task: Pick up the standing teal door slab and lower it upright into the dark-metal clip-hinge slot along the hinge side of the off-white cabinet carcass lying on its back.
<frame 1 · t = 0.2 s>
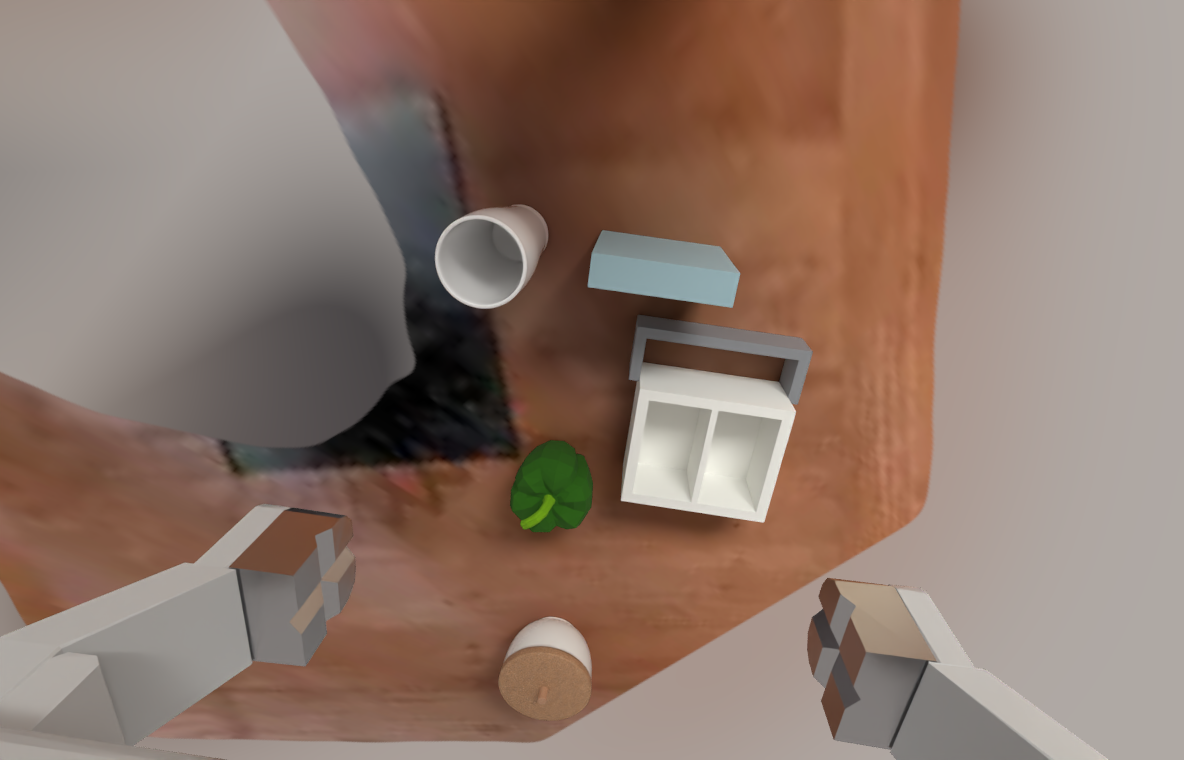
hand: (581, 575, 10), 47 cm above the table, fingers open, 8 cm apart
bell pepper: (558, 461, 64), on the table
cabinet: (697, 424, 61), on the table
door: (658, 252, 54), on the table
drinking glass: (521, 232, 55), on the table
lidded jar: (554, 633, 73), on the table
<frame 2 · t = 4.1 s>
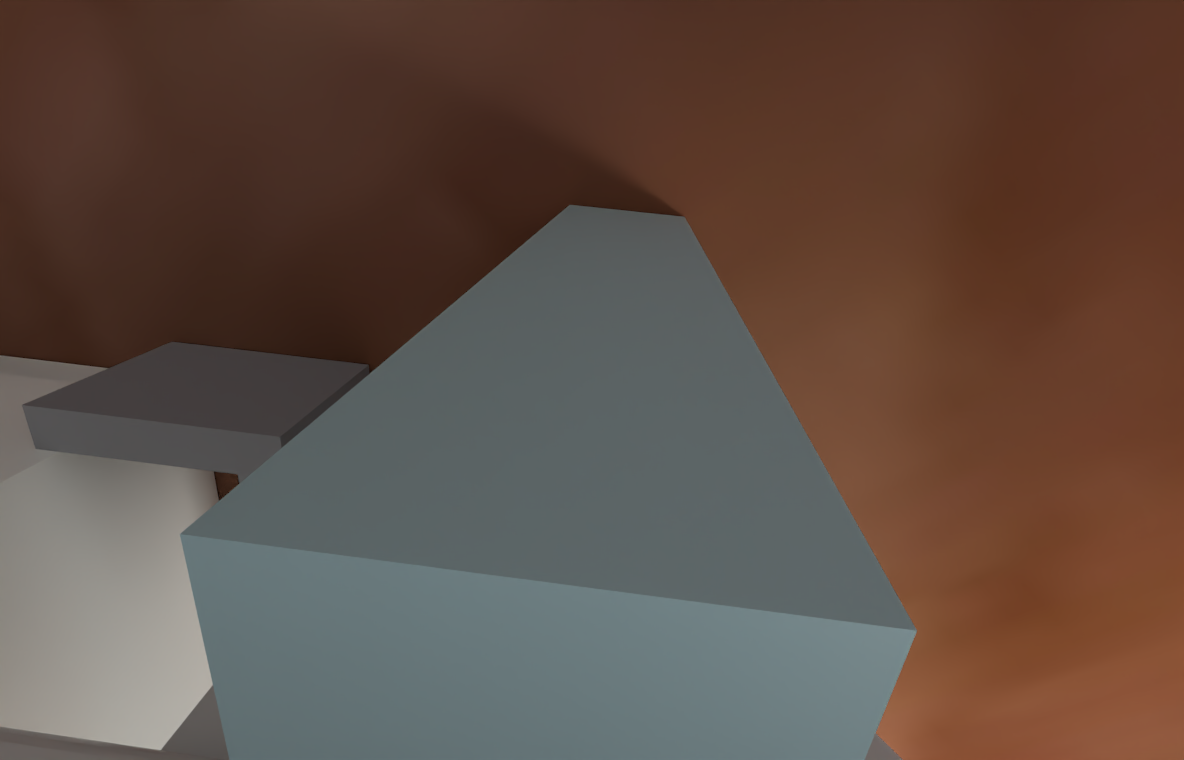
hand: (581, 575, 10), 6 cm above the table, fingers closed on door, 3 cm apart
cabinet: (52, 558, 19), on the table
door: (602, 427, 15), on the table, touching gripper
when the fingers open (8 cm above the table, at t = 9.2 s): door drops 2 cm, resting in cabinet.
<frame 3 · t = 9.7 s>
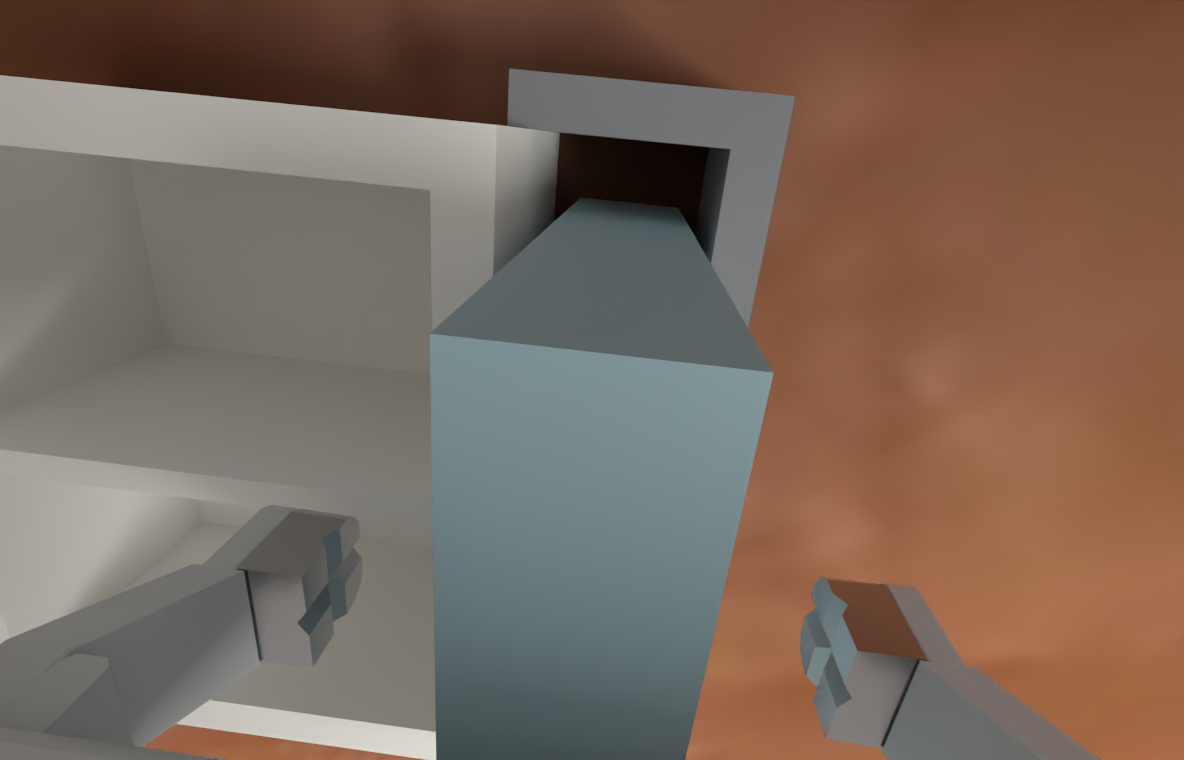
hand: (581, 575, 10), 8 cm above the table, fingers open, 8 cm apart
cabinet: (349, 360, 18), on the table
door: (608, 391, 18), resting in cabinet
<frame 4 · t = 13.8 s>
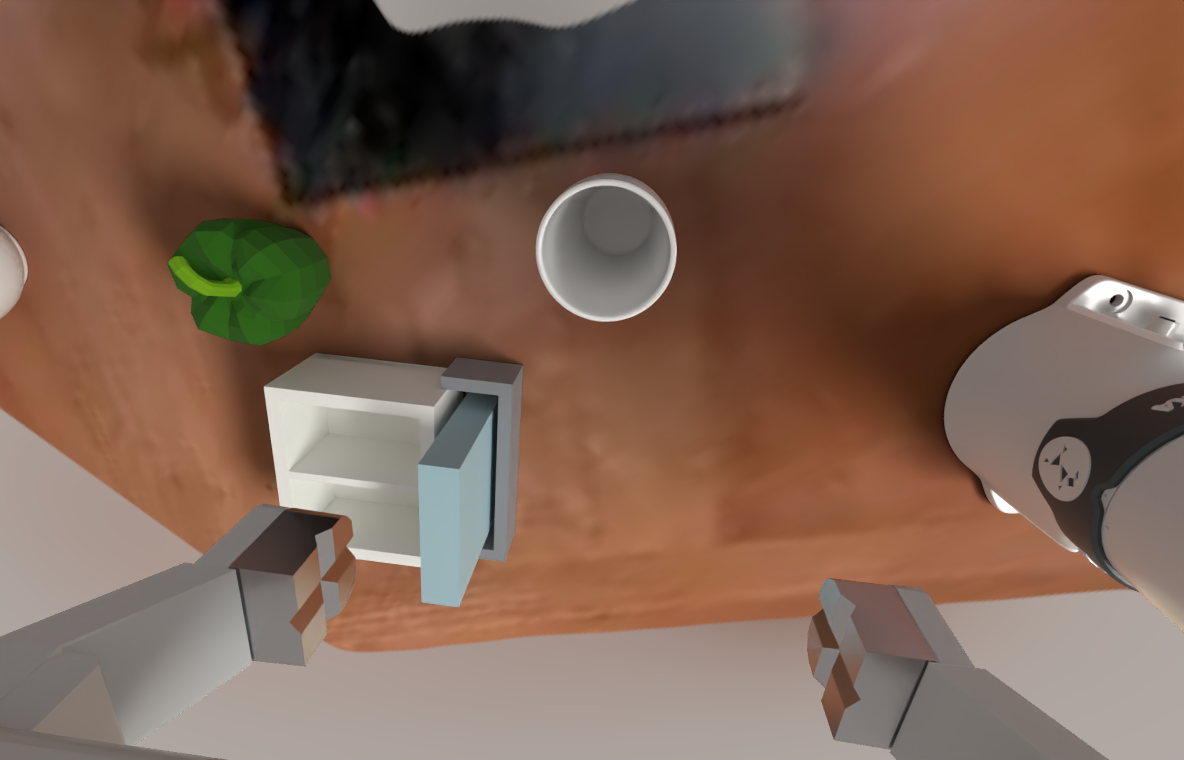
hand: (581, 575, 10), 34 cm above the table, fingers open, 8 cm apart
bell pepper: (296, 264, 44), on the table
cabinet: (392, 438, 49), on the table
door: (485, 449, 49), resting in cabinet
drinking glass: (618, 215, 41), on the table
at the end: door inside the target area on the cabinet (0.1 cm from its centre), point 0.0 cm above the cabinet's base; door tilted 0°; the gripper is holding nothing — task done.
